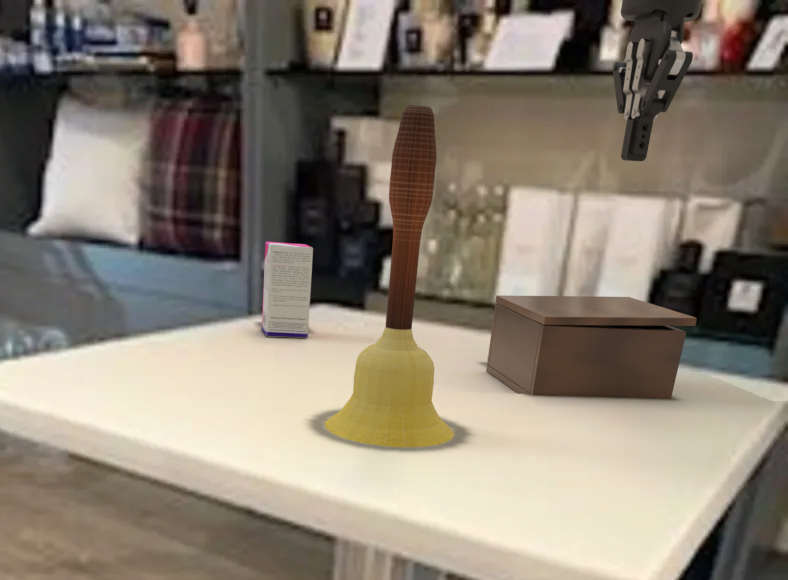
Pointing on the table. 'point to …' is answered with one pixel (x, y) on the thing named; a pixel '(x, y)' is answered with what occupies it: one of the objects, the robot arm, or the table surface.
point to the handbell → (399, 313)
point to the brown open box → (583, 358)
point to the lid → (593, 311)
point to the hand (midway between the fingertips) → (632, 160)
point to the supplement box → (286, 289)
